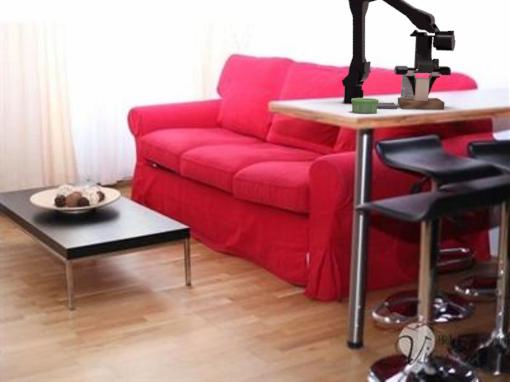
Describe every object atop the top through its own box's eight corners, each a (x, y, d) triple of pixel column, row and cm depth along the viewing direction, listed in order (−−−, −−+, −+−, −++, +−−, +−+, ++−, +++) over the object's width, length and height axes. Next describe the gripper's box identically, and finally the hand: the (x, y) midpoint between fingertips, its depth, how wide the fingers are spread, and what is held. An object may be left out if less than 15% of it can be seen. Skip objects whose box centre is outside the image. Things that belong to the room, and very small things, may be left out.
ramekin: (375, 110, 258) (376, 97, 257) (380, 114, 249) (380, 100, 248) (348, 110, 257) (349, 97, 256) (352, 114, 249) (353, 100, 248)
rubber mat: (367, 108, 263) (367, 105, 263) (365, 105, 273) (365, 102, 272) (397, 109, 262) (397, 106, 262) (393, 105, 272) (393, 102, 272)
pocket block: (402, 109, 262) (403, 101, 262) (397, 104, 276) (397, 97, 275) (444, 109, 262) (444, 102, 261) (436, 104, 275) (437, 97, 275)
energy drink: (414, 98, 294) (415, 67, 292) (415, 100, 289) (417, 68, 286) (399, 98, 295) (401, 67, 292) (401, 100, 290) (402, 68, 287)
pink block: (414, 107, 267) (416, 78, 264) (413, 106, 271) (414, 77, 269) (427, 107, 266) (429, 78, 264) (425, 106, 271) (427, 77, 268)
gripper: (399, 51, 257) (397, 97, 260) (455, 51, 256) (452, 98, 259) (395, 49, 268) (392, 94, 271) (448, 50, 267) (446, 94, 270)
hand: (420, 95), depth 268 cm, fingers closed on pink block, 4 cm apart
